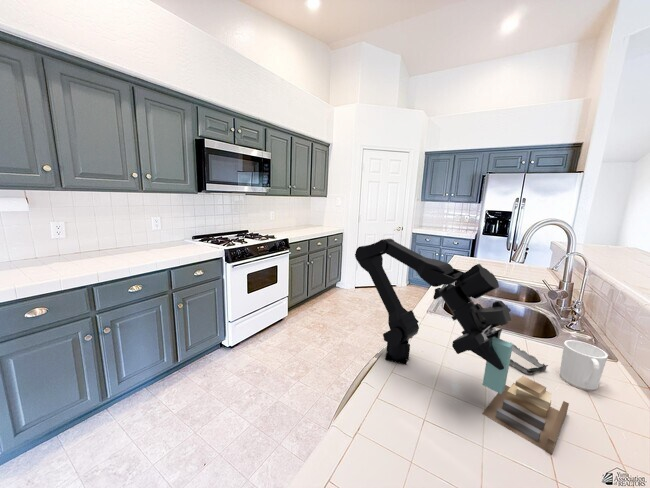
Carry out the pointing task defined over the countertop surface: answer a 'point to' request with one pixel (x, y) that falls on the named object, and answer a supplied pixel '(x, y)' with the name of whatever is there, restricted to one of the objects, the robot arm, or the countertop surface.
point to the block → (492, 375)
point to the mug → (582, 364)
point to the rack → (528, 413)
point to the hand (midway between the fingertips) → (504, 366)
